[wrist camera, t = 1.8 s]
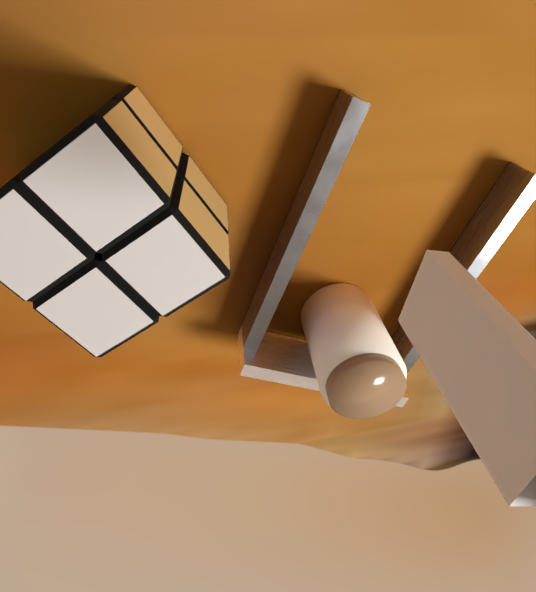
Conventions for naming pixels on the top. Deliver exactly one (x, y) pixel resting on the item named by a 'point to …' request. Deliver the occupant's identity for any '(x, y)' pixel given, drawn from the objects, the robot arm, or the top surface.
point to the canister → (352, 352)
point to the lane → (298, 227)
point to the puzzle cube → (112, 227)
